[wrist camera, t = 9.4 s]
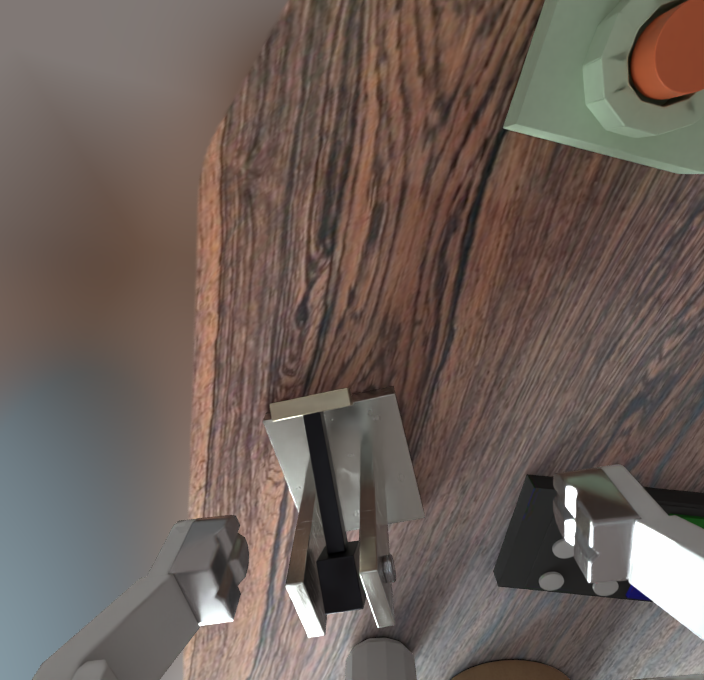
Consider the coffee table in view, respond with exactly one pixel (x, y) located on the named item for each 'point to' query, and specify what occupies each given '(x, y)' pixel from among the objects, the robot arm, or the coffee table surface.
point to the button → (671, 53)
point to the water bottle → (380, 661)
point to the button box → (603, 88)
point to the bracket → (349, 497)
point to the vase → (511, 671)
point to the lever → (328, 502)
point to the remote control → (558, 555)
